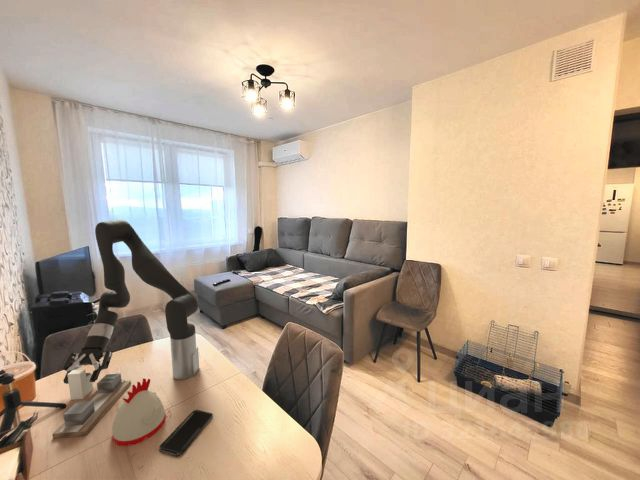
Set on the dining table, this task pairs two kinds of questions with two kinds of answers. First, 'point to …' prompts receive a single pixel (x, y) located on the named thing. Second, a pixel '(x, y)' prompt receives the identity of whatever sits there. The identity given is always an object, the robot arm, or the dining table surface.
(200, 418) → the phone
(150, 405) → the kitchen timer
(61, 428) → the rail plate
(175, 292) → the robot arm
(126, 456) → the dining table surface
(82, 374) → the block
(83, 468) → the dining table surface
